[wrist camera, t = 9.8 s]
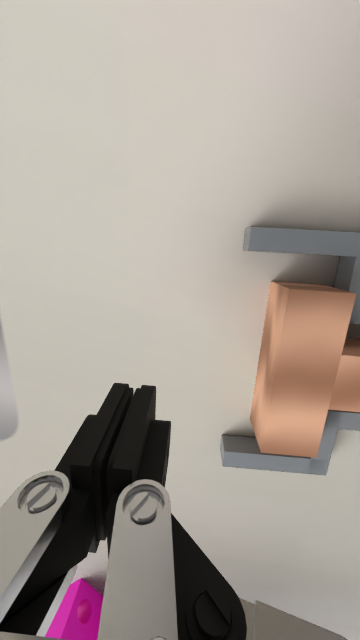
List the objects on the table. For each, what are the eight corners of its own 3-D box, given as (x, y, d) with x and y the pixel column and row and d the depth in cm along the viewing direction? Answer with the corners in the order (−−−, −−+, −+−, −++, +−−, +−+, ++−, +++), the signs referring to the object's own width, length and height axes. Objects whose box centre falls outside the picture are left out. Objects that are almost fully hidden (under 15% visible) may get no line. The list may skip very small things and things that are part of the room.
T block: (270, 281, 20) (289, 288, 16) (434, 292, 19) (494, 303, 16) (249, 418, 23) (260, 452, 19) (390, 430, 23) (430, 468, 19)
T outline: (245, 228, 19) (251, 226, 17) (484, 241, 18) (518, 240, 16) (220, 448, 24) (222, 466, 22) (406, 464, 23) (426, 484, 21)
